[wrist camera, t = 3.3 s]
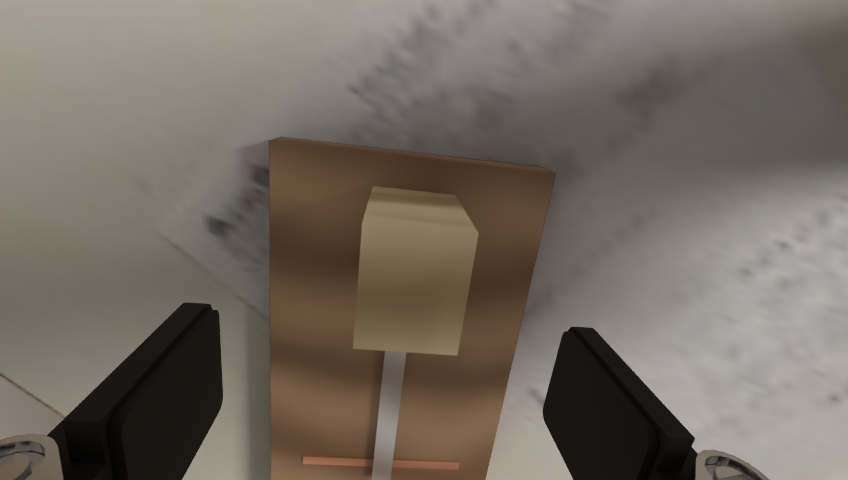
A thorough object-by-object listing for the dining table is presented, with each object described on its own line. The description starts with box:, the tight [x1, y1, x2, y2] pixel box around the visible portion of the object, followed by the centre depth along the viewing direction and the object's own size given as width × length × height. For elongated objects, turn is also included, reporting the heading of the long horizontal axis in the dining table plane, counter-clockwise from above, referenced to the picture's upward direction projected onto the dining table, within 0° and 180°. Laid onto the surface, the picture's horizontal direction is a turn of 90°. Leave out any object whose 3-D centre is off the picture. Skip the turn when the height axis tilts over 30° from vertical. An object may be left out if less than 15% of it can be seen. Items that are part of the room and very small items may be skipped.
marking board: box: [269, 137, 555, 480], centre depth 24 cm, size 24×14×2 cm, turn 173°
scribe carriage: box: [353, 186, 479, 356], centre depth 17 cm, size 6×4×6 cm
